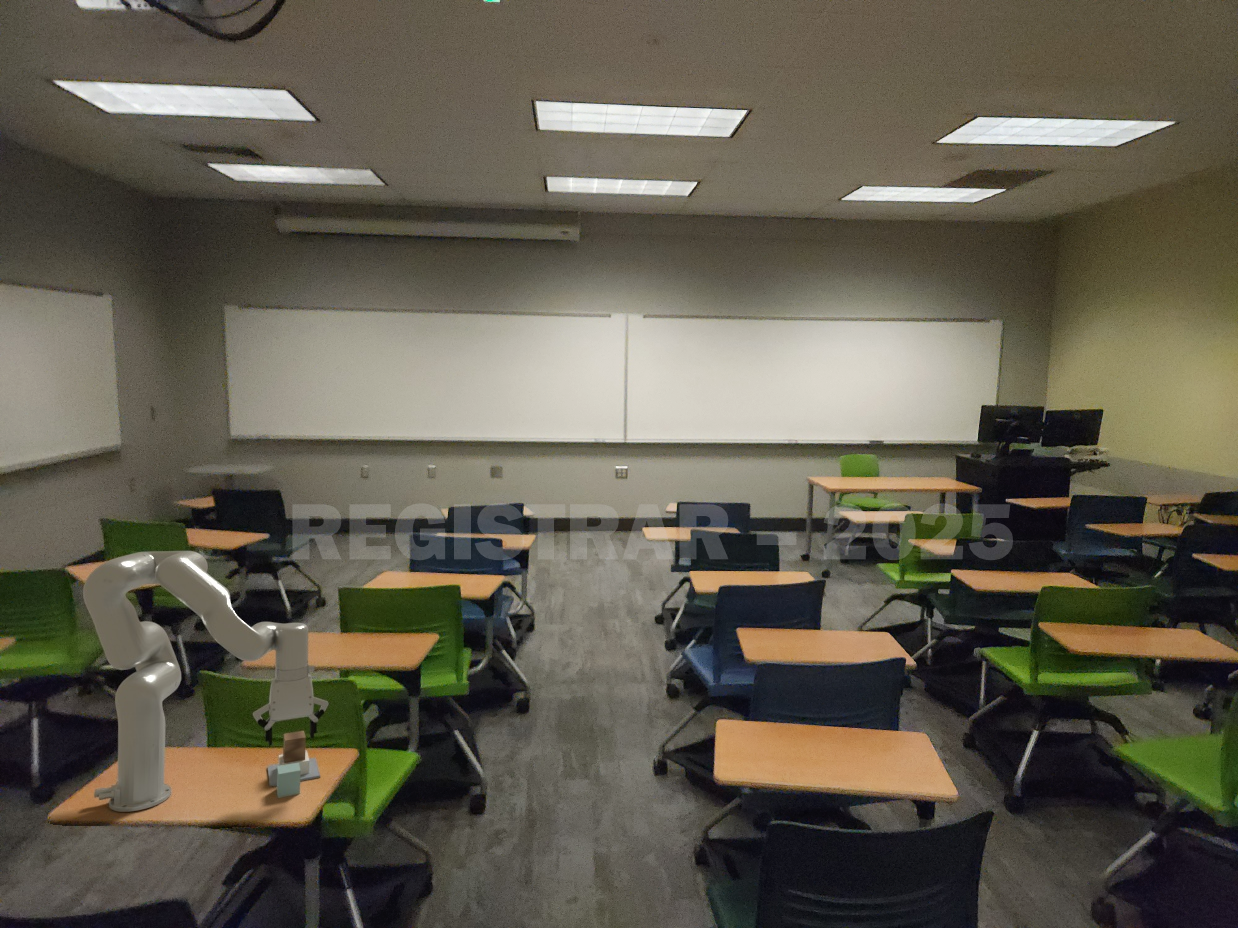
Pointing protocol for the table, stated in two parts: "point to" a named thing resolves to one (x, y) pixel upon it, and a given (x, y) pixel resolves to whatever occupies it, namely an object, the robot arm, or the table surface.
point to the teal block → (288, 780)
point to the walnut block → (294, 746)
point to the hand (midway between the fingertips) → (291, 739)
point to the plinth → (302, 777)
